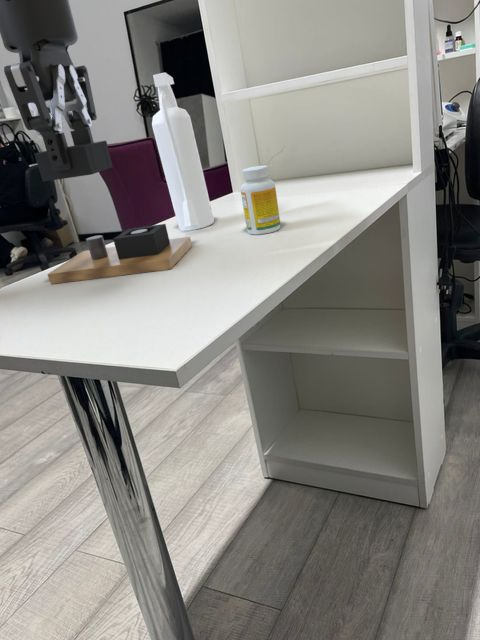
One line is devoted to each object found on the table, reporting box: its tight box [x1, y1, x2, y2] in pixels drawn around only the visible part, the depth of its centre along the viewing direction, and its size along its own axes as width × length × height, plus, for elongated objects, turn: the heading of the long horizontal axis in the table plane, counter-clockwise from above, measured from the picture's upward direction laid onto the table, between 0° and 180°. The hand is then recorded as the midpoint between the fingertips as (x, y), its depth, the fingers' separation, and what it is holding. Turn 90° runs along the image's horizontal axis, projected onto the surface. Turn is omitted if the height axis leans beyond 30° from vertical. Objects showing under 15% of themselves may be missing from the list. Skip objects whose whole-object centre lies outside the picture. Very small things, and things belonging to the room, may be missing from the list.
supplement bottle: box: [240, 165, 281, 236], centre depth 84 cm, size 5×5×10 cm
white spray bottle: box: [151, 72, 215, 232], centre depth 92 cm, size 7×12×25 cm, turn 178°
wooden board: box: [47, 229, 193, 285], centre depth 79 cm, size 18×12×4 cm, turn 83°
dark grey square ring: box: [34, 140, 114, 183], centre depth 62 cm, size 6×6×3 cm
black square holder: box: [112, 223, 170, 259], centre depth 78 cm, size 6×6×3 cm
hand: (76, 165), depth 62 cm, fingers closed on dark grey square ring, 6 cm apart
